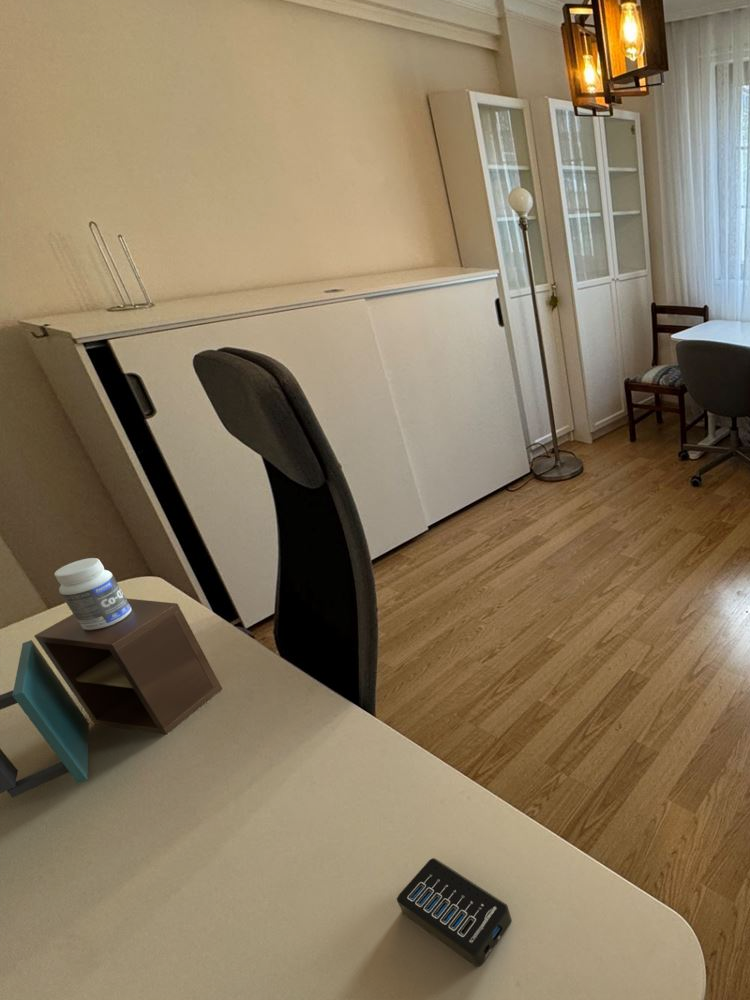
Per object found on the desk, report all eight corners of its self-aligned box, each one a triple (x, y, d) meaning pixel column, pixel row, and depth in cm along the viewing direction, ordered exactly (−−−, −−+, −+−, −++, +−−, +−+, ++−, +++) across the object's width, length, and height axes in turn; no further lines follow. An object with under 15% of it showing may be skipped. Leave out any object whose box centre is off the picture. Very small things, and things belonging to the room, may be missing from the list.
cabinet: (94, 724, 77) (33, 635, 71) (155, 680, 85) (105, 596, 78) (167, 734, 76) (111, 644, 69) (222, 688, 83) (177, 603, 76)
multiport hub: (437, 869, 60) (432, 856, 59) (513, 919, 55) (509, 905, 54) (400, 912, 56) (394, 898, 55) (479, 969, 52) (474, 956, 51)
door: (14, 755, 72) (-54, 669, 66) (89, 723, 77) (31, 639, 70) (3, 819, 65) (-75, 728, 58) (87, 779, 69) (22, 691, 63)
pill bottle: (121, 625, 72) (89, 572, 69) (73, 635, 71) (39, 581, 67) (140, 603, 76) (111, 552, 73) (95, 612, 75) (64, 560, 71)
